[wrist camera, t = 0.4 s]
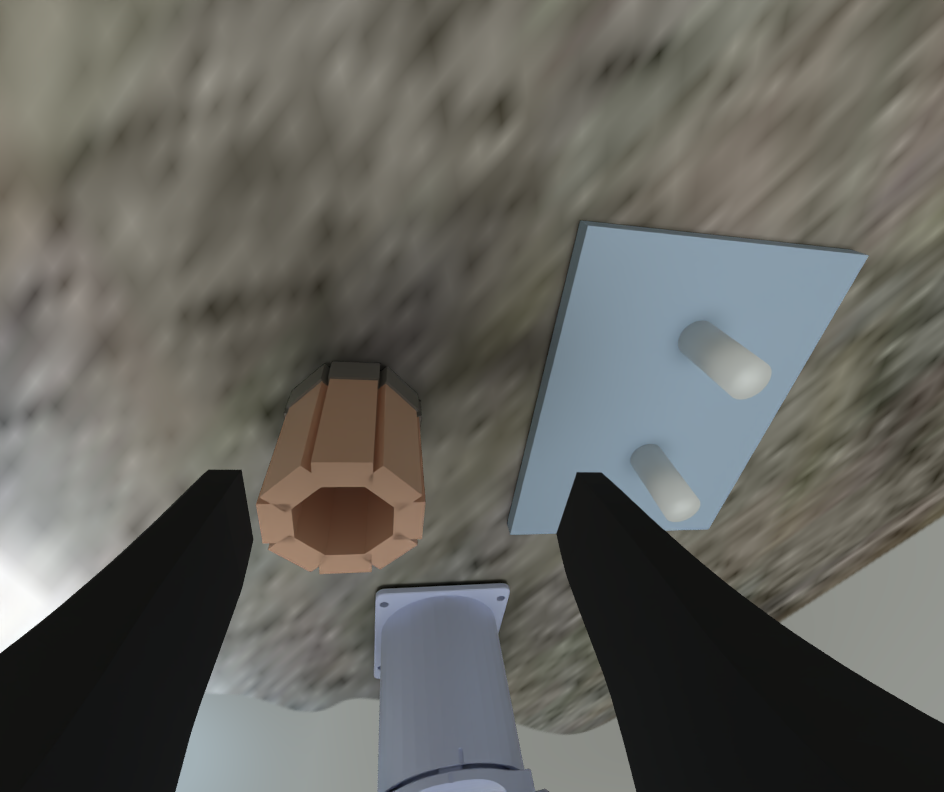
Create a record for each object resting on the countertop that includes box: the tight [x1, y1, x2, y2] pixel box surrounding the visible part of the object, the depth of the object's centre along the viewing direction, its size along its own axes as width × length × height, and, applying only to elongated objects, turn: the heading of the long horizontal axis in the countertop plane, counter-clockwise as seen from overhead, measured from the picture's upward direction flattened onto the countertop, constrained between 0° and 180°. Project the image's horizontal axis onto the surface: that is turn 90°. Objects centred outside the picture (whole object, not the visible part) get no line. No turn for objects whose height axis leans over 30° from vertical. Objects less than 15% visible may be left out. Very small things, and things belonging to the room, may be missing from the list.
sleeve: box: [256, 361, 425, 574], centre depth 17 cm, size 5×5×6 cm
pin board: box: [507, 220, 869, 535], centre depth 20 cm, size 16×12×4 cm
